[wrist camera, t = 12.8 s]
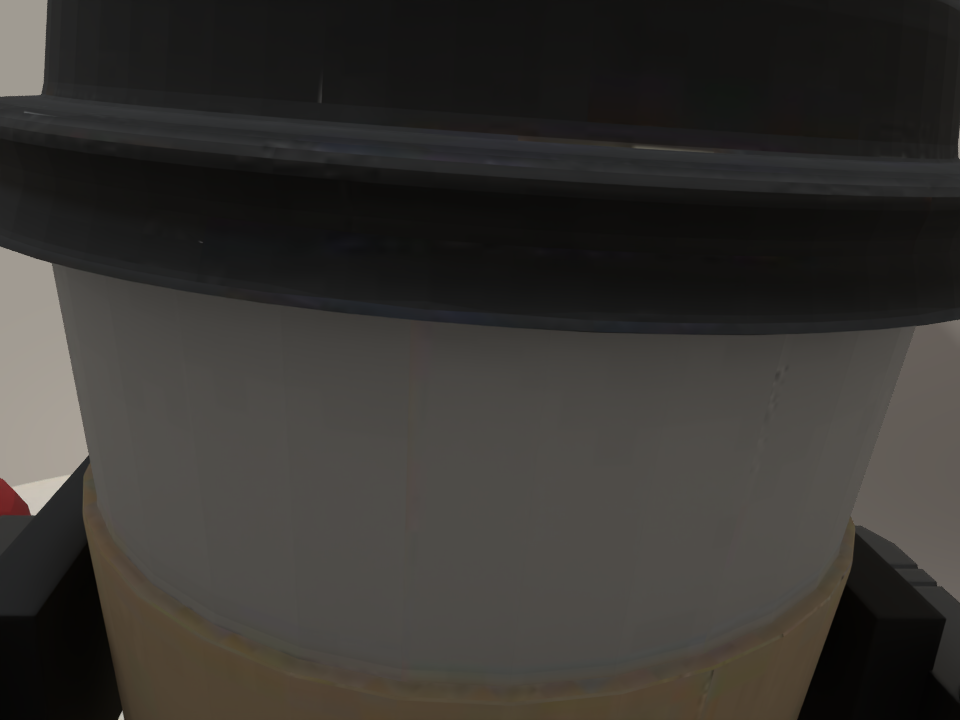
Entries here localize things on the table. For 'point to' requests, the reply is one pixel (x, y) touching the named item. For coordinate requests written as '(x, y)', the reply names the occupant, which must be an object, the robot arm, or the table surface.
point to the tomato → (11, 501)
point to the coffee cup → (483, 338)
